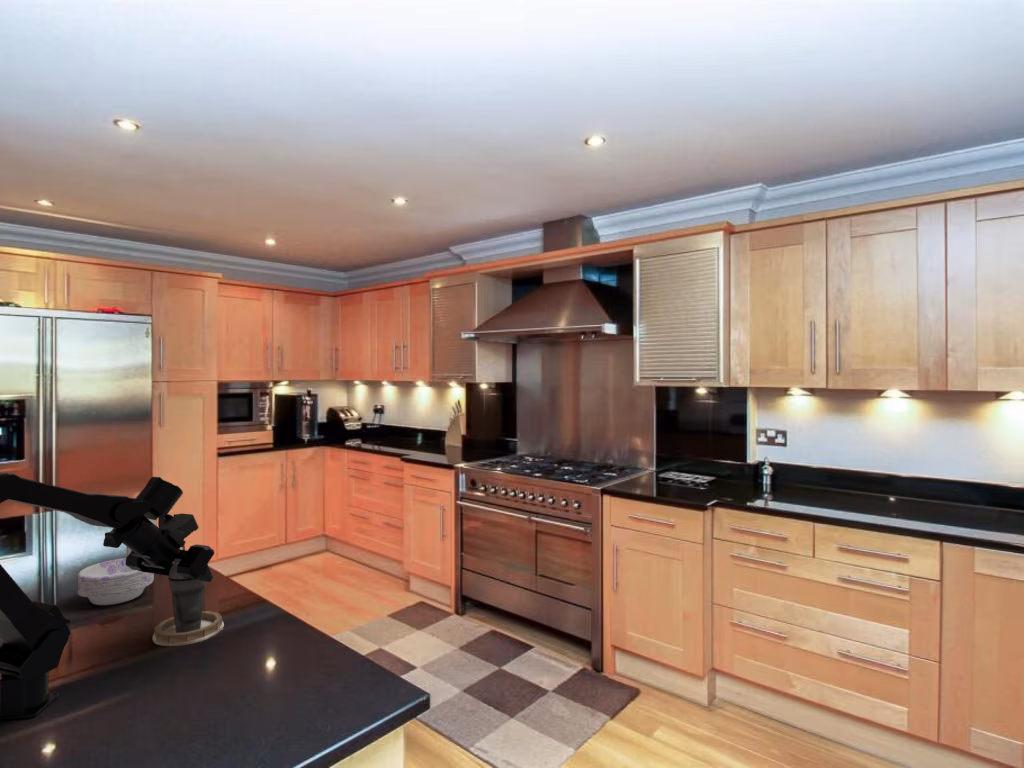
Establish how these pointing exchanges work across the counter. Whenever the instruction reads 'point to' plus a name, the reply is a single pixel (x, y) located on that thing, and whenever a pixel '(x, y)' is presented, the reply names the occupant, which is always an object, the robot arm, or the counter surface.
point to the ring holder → (169, 637)
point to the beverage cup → (186, 600)
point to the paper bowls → (112, 582)
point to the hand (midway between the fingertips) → (194, 577)
